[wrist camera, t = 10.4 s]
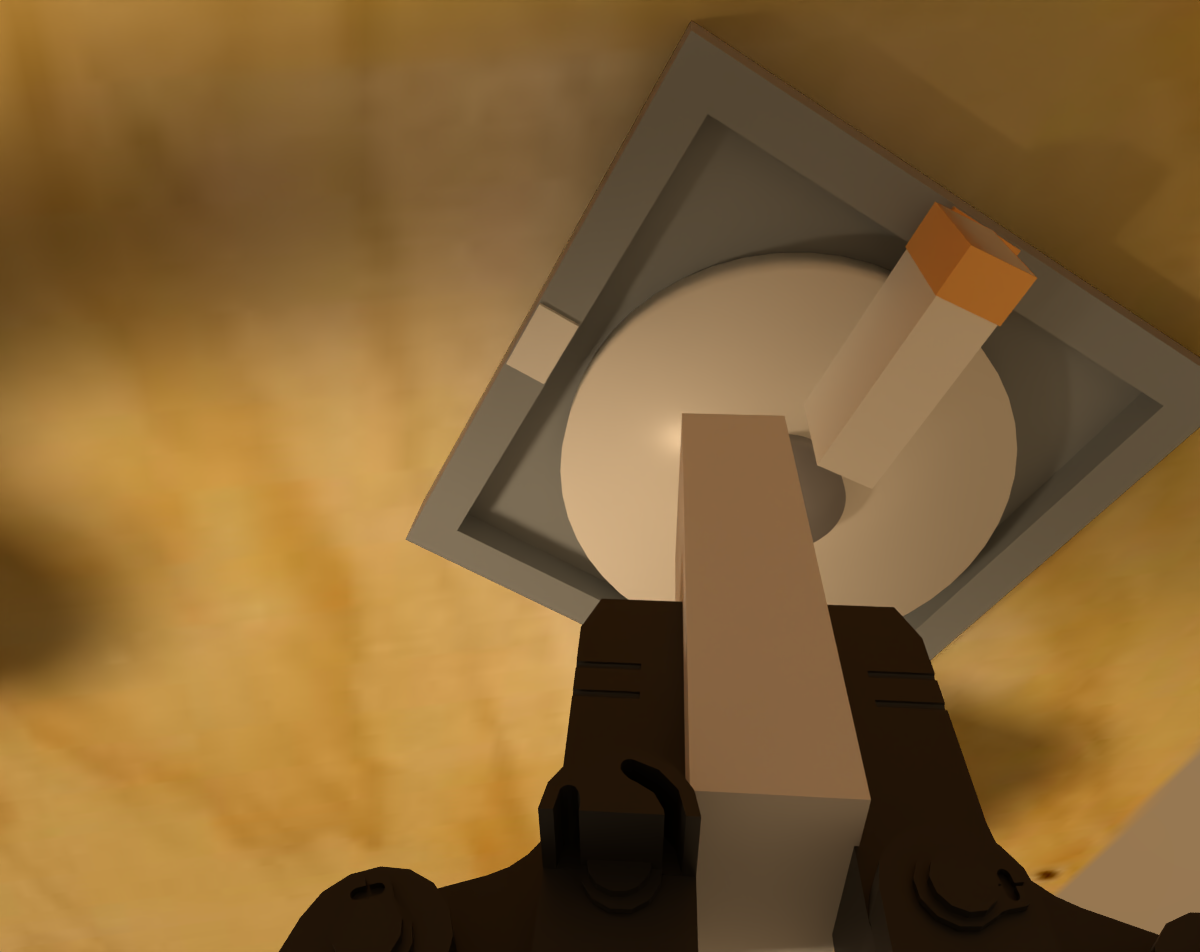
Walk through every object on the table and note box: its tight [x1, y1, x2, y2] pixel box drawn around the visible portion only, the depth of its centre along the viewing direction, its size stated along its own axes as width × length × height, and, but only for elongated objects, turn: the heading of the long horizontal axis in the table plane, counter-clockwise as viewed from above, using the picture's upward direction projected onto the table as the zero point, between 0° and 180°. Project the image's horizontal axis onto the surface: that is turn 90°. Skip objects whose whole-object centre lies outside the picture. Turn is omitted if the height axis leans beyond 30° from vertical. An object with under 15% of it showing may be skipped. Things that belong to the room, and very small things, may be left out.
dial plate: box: [406, 20, 1200, 660], centre depth 31 cm, size 20×20×3 cm
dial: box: [560, 202, 1037, 616], centre depth 28 cm, size 18×15×5 cm
